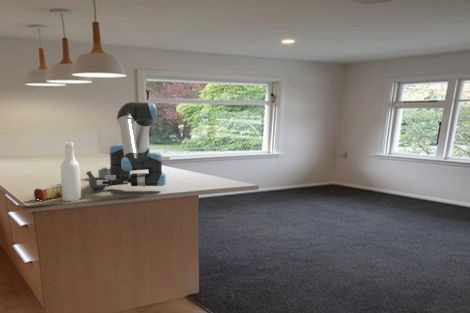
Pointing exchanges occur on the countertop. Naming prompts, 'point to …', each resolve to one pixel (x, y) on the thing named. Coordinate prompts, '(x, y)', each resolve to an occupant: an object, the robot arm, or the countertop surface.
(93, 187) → the mortar and pestle
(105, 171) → the glazed jar
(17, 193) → the countertop surface
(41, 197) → the snack package
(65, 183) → the alcohol
